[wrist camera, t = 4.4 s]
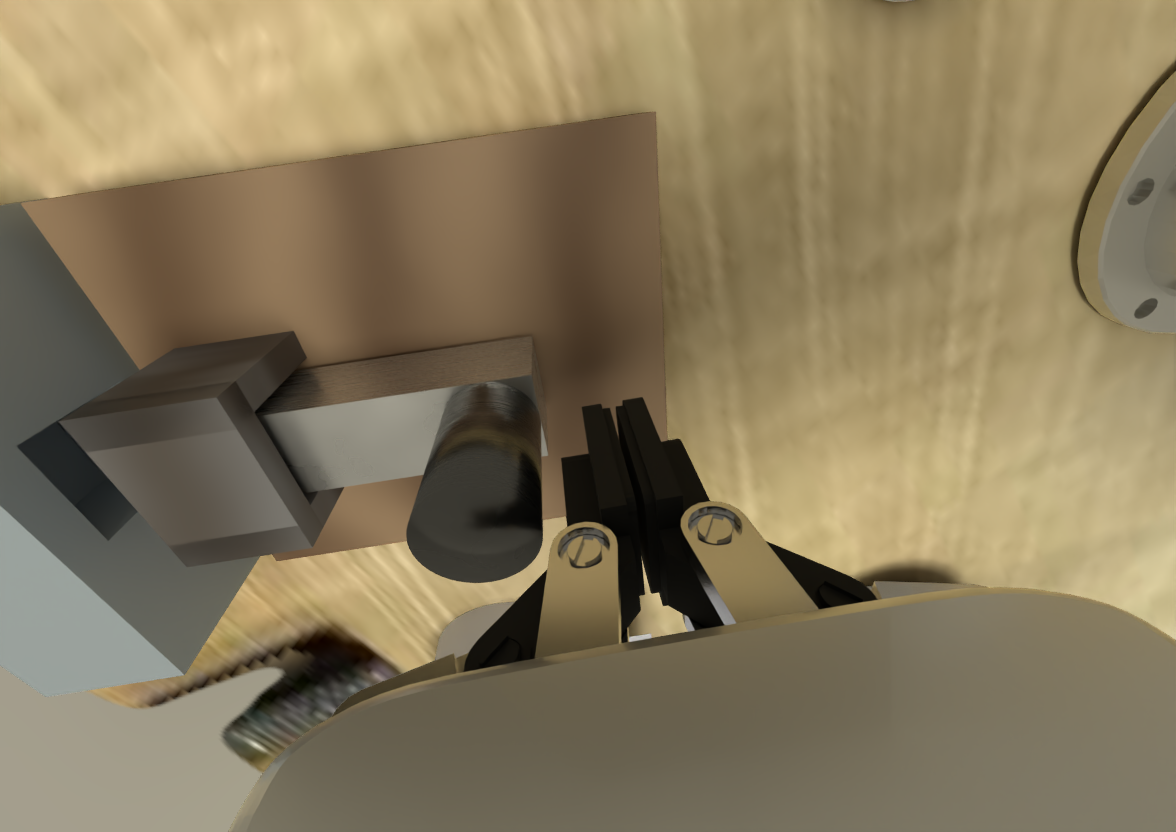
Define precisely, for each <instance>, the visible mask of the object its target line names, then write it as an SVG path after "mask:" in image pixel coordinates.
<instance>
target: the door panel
mask: <svg viewBox="0 0 1176 832" xmlns="http://www.w3.org/2000/svg"><path fill="white" fill-rule="evenodd" d="M21 205H22V206H23V208H24V209H25V210H26V212H27V213H28V215H29V216H30V217H31V219H32V220H33V222H34V223H35V224H36V226H37V227H38V229H39V230H40V231H41V233H42V234H43V235H44V237H45V238H46V240H47V241H48V242H49V244H50V245H51V247H52V248H53V249H54V251H55V252H56V254H57V255H58V256H59V258H60V259H61V261H62V262H63V263H64V265H65V266H66V268H67V269H68V270H69V272H70V273H71V275H72V276H73V277H74V279H75V280H76V282H77V283H78V284H79V286H80V287H81V289H82V290H83V291H84V293H85V294H86V296H87V297H88V298H89V300H90V301H91V302H92V304H93V305H94V307H95V308H96V309H97V311H98V312H99V314H100V315H101V316H102V318H103V319H104V321H105V322H106V323H107V325H108V326H109V328H110V329H111V330H112V332H113V333H114V335H115V336H116V337H117V339H118V340H119V342H120V343H121V344H122V346H123V347H124V349H125V350H126V351H127V353H128V354H129V356H130V357H131V358H132V360H133V361H134V363H135V364H136V365H137V367H138V368H139V369H140V370H139V371H138V372H136V373H134V374H133V375H131V376H130V377H128V378H126V379H125V380H123V381H122V382H120V383H118V384H117V385H115V386H114V387H112V388H111V389H109V390H107V391H106V392H104V393H103V394H101V395H99V396H98V397H96V398H95V399H93V400H91V401H90V402H88V403H87V404H85V405H83V406H82V407H80V408H79V409H77V410H75V411H74V412H72V413H71V414H69V415H67V416H66V417H64V418H63V419H61V420H59V421H58V422H59V423H60V424H61V425H62V426H63V427H64V428H65V430H66V431H67V432H68V433H69V434H70V435H71V436H72V437H73V439H74V440H75V441H76V442H77V443H78V444H79V445H80V447H81V448H82V449H83V450H84V451H85V452H86V453H87V454H88V456H89V457H90V458H91V459H92V460H93V461H94V462H95V464H96V465H97V466H98V467H99V468H100V469H101V470H102V472H103V473H104V474H105V475H106V476H107V477H108V478H109V479H110V481H111V482H112V483H113V484H114V485H115V486H116V487H117V489H118V490H119V491H120V492H121V493H122V494H123V495H124V496H125V498H126V499H127V500H128V501H129V502H130V503H131V504H132V506H133V507H134V508H135V509H136V510H137V511H138V512H139V514H140V515H141V516H142V517H143V518H144V519H145V520H146V521H147V523H148V524H149V525H150V526H151V527H152V528H153V529H154V531H155V532H156V533H157V534H158V535H159V536H160V537H161V538H162V540H163V541H164V542H165V543H166V544H167V545H168V546H169V548H170V549H171V550H172V551H173V552H174V553H175V554H176V556H177V557H178V558H179V559H180V560H181V561H182V562H183V563H184V565H185V566H186V567H193V566H199V565H206V564H212V563H218V562H225V561H231V560H238V559H244V558H251V557H257V556H263V555H270V554H272V555H273V557H274V558H275V559H276V561H282V560H288V559H294V558H301V557H307V556H314V555H320V554H326V553H333V552H339V551H346V550H352V549H359V548H365V547H371V546H378V545H384V544H391V543H397V542H403V541H407V538H406V530H407V525H408V521H409V518H410V515H411V512H412V509H413V506H414V503H415V500H416V496H417V493H418V490H419V487H420V484H421V481H422V478H423V475H419V476H412V477H406V478H399V479H393V480H386V481H380V482H373V483H367V484H360V485H354V486H347V487H341V488H334V489H328V490H321V491H315V492H308V493H303V492H302V491H301V489H300V487H299V486H298V484H297V482H296V481H295V479H294V477H293V476H292V474H291V472H290V471H289V469H288V467H287V466H286V464H285V462H284V461H283V459H282V457H281V456H280V454H279V452H278V451H277V449H276V447H275V446H274V444H273V442H272V441H271V439H270V437H269V436H268V434H267V432H266V431H265V429H264V427H263V426H262V424H261V422H260V421H259V419H258V417H257V416H256V414H255V411H256V410H257V409H258V408H259V406H260V405H261V404H262V403H263V402H264V401H265V400H266V399H267V398H268V397H269V396H270V395H271V394H272V393H273V392H274V391H275V390H276V389H277V388H278V387H279V386H280V385H281V384H282V383H283V382H284V381H285V380H286V379H287V378H288V377H289V376H290V375H291V374H292V373H293V371H298V370H305V369H312V368H318V367H325V366H332V365H338V364H345V363H352V362H358V361H365V360H372V359H378V358H385V357H392V356H398V355H405V354H412V353H418V352H425V351H432V350H438V349H445V348H452V347H458V346H465V345H472V344H478V343H485V342H492V341H498V340H505V339H512V338H518V337H525V336H532V337H533V342H534V347H535V352H536V357H537V362H538V367H539V372H540V377H541V382H542V387H543V392H544V397H545V403H546V408H547V432H548V456H542V517H543V520H545V519H551V518H558V517H564V516H566V507H565V496H564V485H563V474H562V464H561V458H563V457H570V456H576V455H582V454H588V446H587V440H586V433H585V427H584V420H583V414H582V407H583V406H589V405H595V404H601V405H602V409H603V408H610V410H611V414H612V417H613V421H614V424H615V428H616V431H617V435H618V427H617V418H616V406H622V401H623V400H626V399H632V398H639V397H643V399H644V401H645V404H646V406H647V409H648V411H649V413H650V416H651V418H652V421H653V423H654V425H655V428H656V430H657V433H658V435H659V438H660V440H661V442H662V441H667V416H666V387H665V359H664V331H663V302H662V274H661V246H660V217H659V189H658V161H657V132H656V112H646V113H638V114H631V115H624V116H617V117H610V118H603V119H596V120H589V121H582V122H575V123H568V124H561V125H554V126H547V127H540V128H533V129H526V130H519V131H512V132H505V133H499V134H492V135H485V136H478V137H471V138H464V139H457V140H450V141H443V142H436V143H429V144H422V145H415V146H408V147H401V148H394V149H387V150H380V151H373V152H366V153H359V154H353V155H346V156H339V157H332V158H325V159H318V160H311V161H304V162H297V163H290V164H283V165H276V166H269V167H262V168H255V169H248V170H241V171H234V172H227V173H220V174H213V175H207V176H200V177H193V178H186V179H179V180H172V181H165V182H158V183H151V184H144V185H137V186H130V187H123V188H116V189H109V190H102V191H95V192H88V193H81V194H75V195H69V196H62V197H56V198H50V199H43V200H37V201H31V202H24V203H21ZM618 439H619V437H618Z"/></svg>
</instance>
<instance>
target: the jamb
mask: <svg viewBox="0 0 1176 832" xmlns="http://www.w3.org/2000/svg"><path fill="white" fill-rule="evenodd" d="M40 200H43V199H40ZM33 201H37V200H33ZM26 202H31V201H26ZM21 203H24V202H19V203H12V204H5V205H0V666H1V667H3V668H4V669H6V670H7V671H9V672H10V673H11V674H13V675H14V676H16V677H17V678H19V679H20V680H22V681H23V682H25V683H26V684H27V685H29V686H31V687H32V688H34V689H35V690H36V691H38V692H39V693H41V694H42V695H44V696H45V697H49V696H56V695H61V694H68V693H74V692H81V691H87V690H93V689H100V688H106V687H112V686H119V685H125V684H131V683H137V682H144V681H150V680H156V679H163V678H169V677H175V676H182V675H185V674H186V672H187V671H188V669H189V667H190V666H191V664H192V663H193V661H194V660H195V658H196V656H197V655H198V653H199V652H200V650H201V649H202V647H203V645H204V644H205V642H206V641H207V639H208V637H209V636H210V634H211V633H212V631H213V630H214V628H215V626H216V625H217V623H218V622H219V620H220V619H221V617H222V615H223V614H224V612H225V611H226V609H227V608H228V606H229V604H230V603H231V601H232V600H233V598H234V597H235V595H236V593H237V592H238V590H239V589H240V587H241V586H242V584H243V582H244V581H245V579H246V578H247V576H248V575H249V573H250V571H251V570H252V568H253V567H254V565H255V564H256V562H257V560H258V559H259V557H260V556H257V557H251V558H244V559H238V560H231V561H225V562H218V563H212V564H206V565H199V566H193V567H186V566H185V565H184V563H183V562H182V561H181V560H180V559H179V558H178V557H177V556H176V554H175V553H174V552H173V551H172V550H171V549H170V548H169V546H168V545H167V544H166V543H165V542H164V541H163V540H162V538H161V537H160V536H159V535H158V534H157V533H156V532H155V531H154V529H153V528H152V527H151V526H150V525H149V524H148V523H147V521H146V520H145V519H144V518H143V517H142V516H141V515H140V514H139V512H138V511H137V510H136V509H135V508H134V507H133V506H132V504H131V503H130V502H129V501H128V500H127V499H126V498H125V496H124V495H123V494H122V493H121V492H120V491H119V490H118V489H117V487H116V486H115V485H114V484H113V483H112V482H111V481H110V479H109V478H108V477H107V476H106V475H105V474H104V473H103V472H102V470H101V469H100V468H99V467H98V466H97V465H96V464H95V462H94V461H93V460H92V459H91V458H90V457H89V456H88V454H87V453H86V452H85V451H84V450H83V449H82V448H81V447H80V445H79V444H78V443H77V442H76V441H75V440H74V439H73V437H72V436H71V435H70V434H69V433H68V432H67V431H66V430H65V428H64V427H63V426H62V425H61V424H60V423H59V422H58V421H59V420H61V419H63V418H64V417H66V416H67V415H69V414H71V413H72V412H74V411H75V410H77V409H79V408H80V407H82V406H83V405H85V404H87V403H88V402H90V401H91V400H93V399H95V398H96V397H98V396H99V395H101V394H103V393H104V392H106V391H107V390H109V389H111V388H112V387H114V386H115V385H117V384H118V383H120V382H122V381H123V380H125V379H126V378H128V377H130V376H131V375H133V374H134V373H136V372H138V371H139V370H140V369H139V368H138V367H137V365H136V364H135V363H134V361H133V360H132V358H131V357H130V356H129V354H128V353H127V351H126V350H125V349H124V347H123V346H122V344H121V343H120V342H119V340H118V339H117V337H116V336H115V335H114V333H113V332H112V330H111V329H110V328H109V326H108V325H107V323H106V322H105V321H104V319H103V318H102V316H101V315H100V314H99V312H98V311H97V309H96V308H95V307H94V305H93V304H92V302H91V301H90V300H89V298H88V297H87V296H86V294H85V293H84V291H83V290H82V289H81V287H80V286H79V284H78V283H77V282H76V280H75V279H74V277H73V276H72V275H71V273H70V272H69V270H68V269H67V268H66V266H65V265H64V263H63V262H62V261H61V259H60V258H59V256H58V255H57V254H56V252H55V251H54V249H53V248H52V247H51V245H50V244H49V242H48V241H47V240H46V238H45V237H44V235H43V234H42V233H41V231H40V230H39V229H38V227H37V226H36V224H35V223H34V222H33V220H32V219H31V217H30V216H29V215H28V213H27V212H26V210H25V209H24V208H23V206H22V205H21Z"/></svg>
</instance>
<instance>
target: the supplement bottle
mask: <svg viewBox="0 0 1176 832" xmlns="http://www.w3.org/2000/svg"><path fill="white" fill-rule="evenodd" d="M885 1H893V2H905V1H913V0H885Z"/></svg>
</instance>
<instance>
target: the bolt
mask: <svg viewBox="0 0 1176 832" xmlns="http://www.w3.org/2000/svg"><path fill="white" fill-rule="evenodd" d="M255 414H256V416H257V417H258V419H259V421H260V422H261V424H262V426H263V427H264V429H265V431H266V432H267V434H268V436H269V437H270V439H271V441H272V442H273V444H274V446H275V447H276V449H277V451H278V452H279V454H280V456H281V457H282V459H283V461H284V462H285V464H286V466H287V467H288V469H289V471H290V472H291V474H292V476H293V477H294V479H295V481H296V482H297V484H298V486H299V487H300V489H301V491H302V492H303V493H308V492H315V491H321V490H328V489H334V488H341V487H347V486H354V485H360V484H367V483H373V482H380V481H386V480H393V479H399V478H406V477H412V476H419V475H423V478H422V481H421V484H420V487H419V490H418V493H417V496H416V500H415V503H414V506H413V509H412V512H411V515H410V518H409V521H408V525H407V530H406V538H407V543H408V546H409V549H410V550H411V552H412V554H413V555H414V557H415V558H416V559H417V560H418V561H419V562H420V563H421V564H422V565H423V566H424V567H426V568H427V569H428V570H430V571H432V572H434V573H435V574H438V575H440V576H442V577H445V578H448V579H451V580H456V581H461V582H470V583H484V582H492V581H497V580H501V579H504V578H507V577H510V576H512V575H515V574H516V573H518V572H520V571H522V570H523V569H525V568H526V567H527V566H528V565H529V564H530V563H532V561H533V560H534V559H535V558H536V556H537V555H538V553H539V551H540V548H541V546H542V541H543V517H542V456H548V432H547V408H546V403H545V397H544V392H543V387H542V382H541V377H540V372H539V367H538V362H537V357H536V352H535V347H534V342H533V337H532V336H525V337H518V338H512V339H505V340H498V341H492V342H485V343H478V344H472V345H465V346H458V347H452V348H445V349H438V350H432V351H425V352H418V353H412V354H405V355H398V356H392V357H385V358H378V359H372V360H365V361H358V362H352V363H345V364H338V365H332V366H325V367H318V368H312V369H305V370H298V371H293V373H292V374H291V375H290V376H289V377H288V378H287V379H286V380H285V381H284V382H283V383H282V384H281V385H280V386H279V387H278V388H277V389H276V390H275V391H274V392H273V393H272V394H271V395H270V396H269V397H268V398H267V399H266V400H265V401H264V402H263V403H262V404H261V405H260V406H259V408H258V409H257V410H256V411H255Z"/></svg>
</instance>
